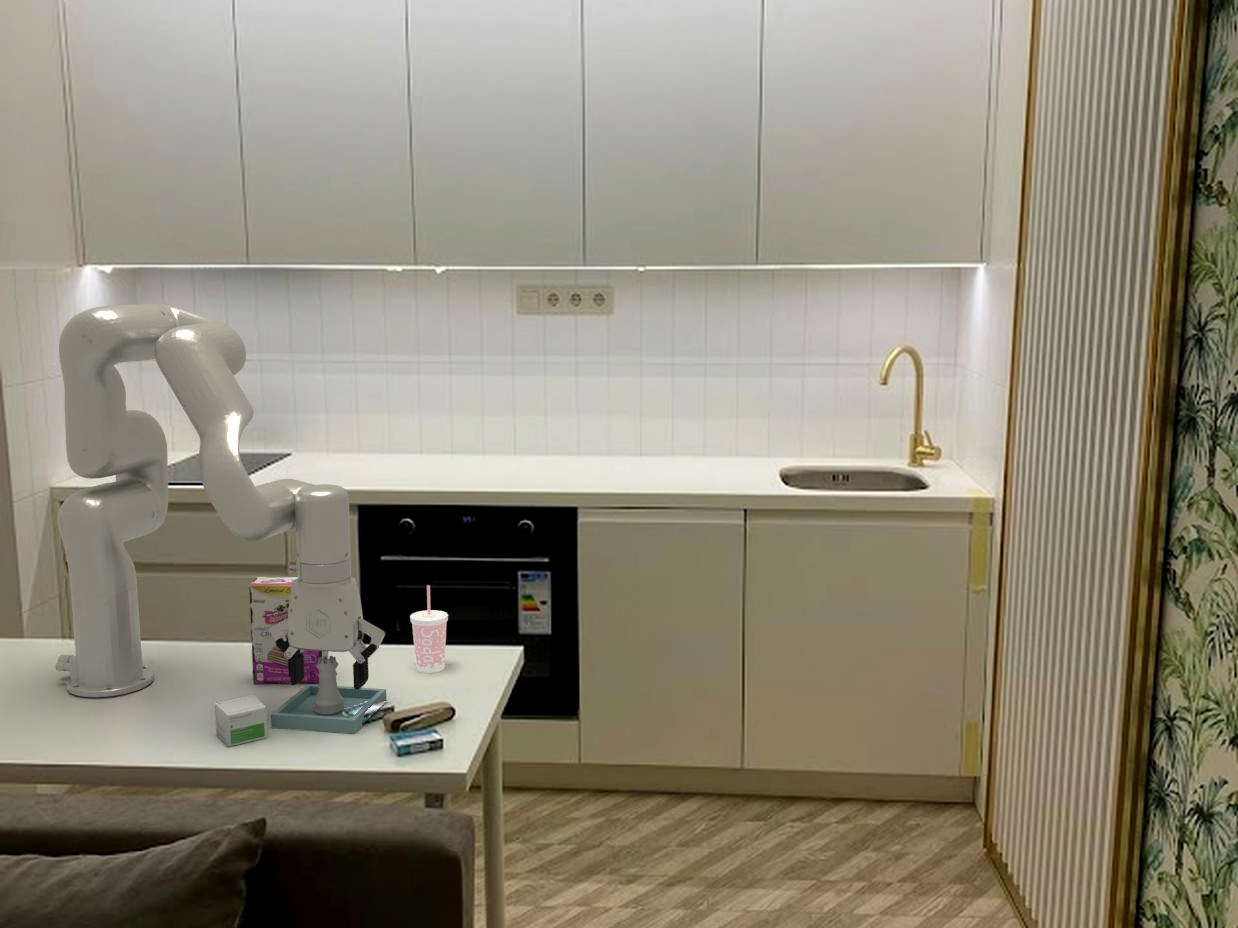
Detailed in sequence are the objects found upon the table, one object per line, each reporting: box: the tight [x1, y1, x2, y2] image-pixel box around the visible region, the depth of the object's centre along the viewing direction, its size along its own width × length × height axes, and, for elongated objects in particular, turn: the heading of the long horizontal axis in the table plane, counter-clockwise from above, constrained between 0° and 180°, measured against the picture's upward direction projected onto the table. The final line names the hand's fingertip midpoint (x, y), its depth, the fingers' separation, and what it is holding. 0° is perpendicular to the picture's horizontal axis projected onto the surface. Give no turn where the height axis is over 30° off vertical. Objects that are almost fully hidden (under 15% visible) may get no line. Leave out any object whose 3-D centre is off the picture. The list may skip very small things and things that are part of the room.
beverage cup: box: [409, 584, 449, 674], centre depth 195 cm, size 6×6×14 cm
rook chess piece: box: [313, 655, 344, 715], centre depth 175 cm, size 4×4×8 cm
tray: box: [270, 683, 387, 735], centre depth 176 cm, size 13×13×2 cm
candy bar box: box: [248, 576, 329, 685], centre depth 189 cm, size 11×5×16 cm, turn 92°
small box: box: [213, 694, 268, 748], centre depth 167 cm, size 6×6×5 cm
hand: (328, 684), depth 175 cm, fingers open, 9 cm apart
